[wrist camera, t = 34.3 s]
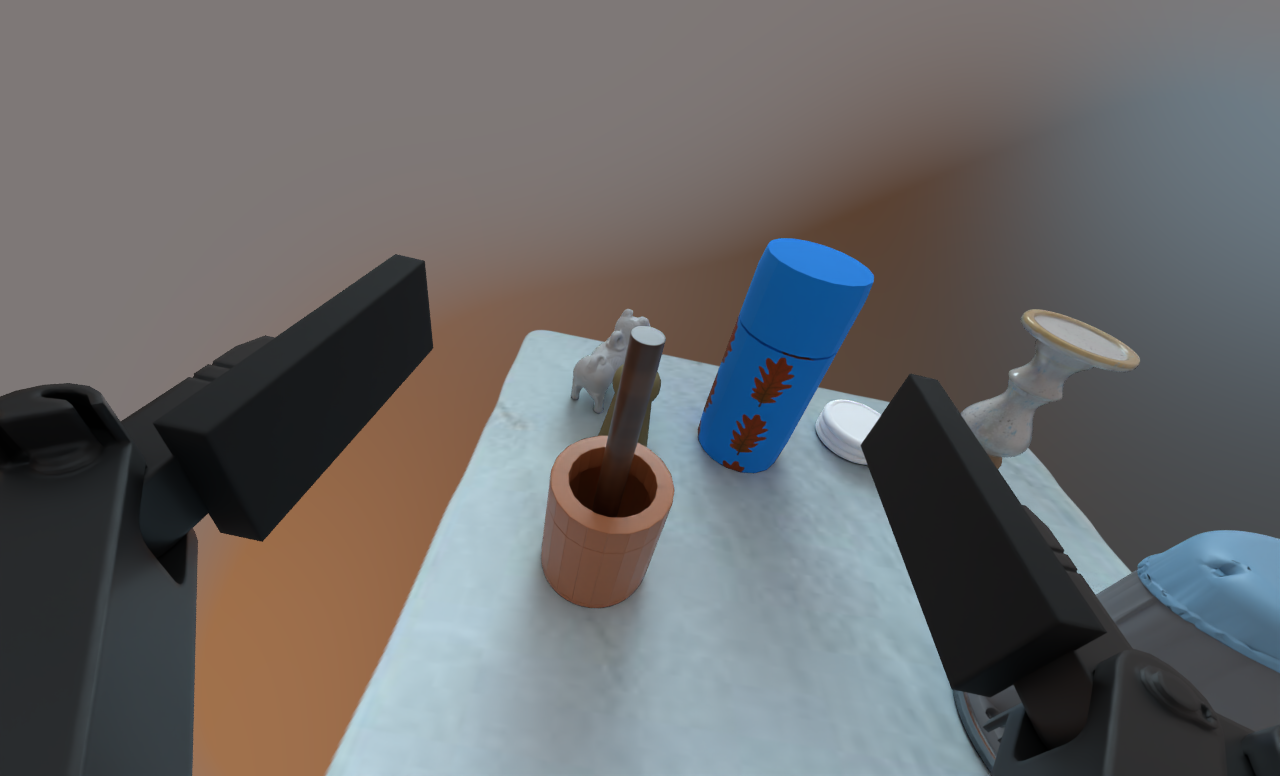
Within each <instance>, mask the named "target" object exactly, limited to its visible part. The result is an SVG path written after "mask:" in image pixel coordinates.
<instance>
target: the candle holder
mask: <svg viewBox="0 0 1280 776" xmlns="http://www.w3.org/2000/svg"><path fill="white" fill-rule="evenodd" d="M1021 323H1022V325H1023V327H1024V328H1025V329H1026V330H1027V331H1028V332H1029V333H1030V334H1031V335H1033V336H1034V337H1035V338H1037V340H1036V343H1035V347H1036V353H1035V356H1034V358H1033V359H1032V361H1031V362H1030V363H1028V364H1027V365H1024V366H1022V367H1019V368H1016V369H1013V370H1011V371H1010V372H1009V378H1010V380H1009V381H1008V388H1007V390H1006V391H1005V392H1004V393H1003V394H1001V395H999V396H997V397H994V398H991V399H988V400H984V401H981V402H978V403H975V404H973V405H971V406H969V407H967V408H966V409H964V410H963V411H962V412H961V416H962V417H963V419H964V420H965V422H966V423H967V425H968V426H969V427H970V429H971V430H972V432H973V433H974V435H975V436H976V438H977V439H978V441H979V442H980V444H981V445H982V447H983V448H984V450H985V451H986V453H987V454H988V456H989V457H990V459H991V460H992V462H993V463H994V465H995V466H996V468H997V469H999V467H1000V466H1001V463H1002V457H1015V456H1018V455H1020V454H1022V453H1023V452H1025V451H1026V450H1027V448H1028V446H1029V445H1030V443H1031V439H1032V432H1033V417H1034V413H1035V411H1036V409H1037V408H1038V407H1040V406H1041V405H1044V404H1048V403H1050V402H1051V401H1059V400H1061V398H1062V397H1063V386H1064V383H1065V381H1066V379H1067V378H1068V377H1070V376H1071V375H1073V374H1074V373H1077V372H1080V371H1085V370H1088V369H1091V368H1093V367H1098V368H1101V369H1105V370H1109V371H1115V372H1128V371H1132V370H1134V369H1136V368H1137V367H1138V366H1139V364H1140V358H1139V357H1138V355H1137V354H1136V353H1135V352H1134V351H1133V350H1132V349H1131V348H1129V347H1128V346H1127V345H1125V344H1124V343H1122V342H1120V341H1119V340H1117V339H1116V338H1114V337H1112V336H1111V335H1109V334H1107V333H1105V332H1103V331H1101V330H1099V329H1097V328H1095V327H1093V326H1090V325H1088V324H1086V323H1083V322H1081V321H1079V320H1076V319H1073V318H1070V317H1067V316H1065V315H1061V314H1058V313H1054V312H1050V311H1045V310H1038V309H1036V310H1029V311H1026V312H1025V313H1024V314H1023V315H1022V318H1021Z"/></svg>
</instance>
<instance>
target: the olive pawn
mask: <svg viewBox="0 0 1280 776" xmlns="http://www.w3.org/2000/svg"><path fill="white" fill-rule="evenodd" d="M623 365H624V364H622V365H621V366H620V367H619V368H618V369H617V370H616V372H615V374H614V377H613V389H614V392H615V394H614V397H613V399H612V402H611V404H610V407H609V409H608V412H607V415H606V417H605V420H604V422H603V425H602V427H601V430H600V432H599V435H598V436H608V434H609V429H610V425H611V420H612V416H613V411H614V406H615V402H616V397H617V393H618V388H619V384H620V379H621V374H622V370H623ZM660 387H661V380H660V377H659V374H658V372H657V373H656V377H655V381H654V384H653V388H652V391H651V395H650V399H649V402H648V406H647V410H646V413H645V417H644V420H643V424H642V428H641V431H640V435H639V439H638V442H637V443H639V444H641V445H643V446H645V447H647V439H648V430H649V421H650V412H651V403H652V401H654V399H655V398H656V397H657V395H658V394H659V391H660Z"/></svg>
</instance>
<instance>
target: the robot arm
mask: <svg viewBox="0 0 1280 776" xmlns="http://www.w3.org/2000/svg"><path fill="white" fill-rule="evenodd" d="M432 349H433V341H432V331H431V320H430V310H429V300H428V290H427V280H426V270H425V261H423V260H418V259H414V258H409V257H405V256H401V255H397V254H395V255H394V256H392V257H391V258H389V259H388V260H386V261H385V262H384V263H382V264H381V265H379V266H378V267H376V268H375V269H373V270H372V271H371V272H369V273H368V274H366V275H365V276H363V277H362V278H360V279H359V280H358V281H356V282H355V283H353V284H352V285H350V286H349V287H348V288H346V289H345V290H343V291H342V292H340V293H339V294H337V295H336V296H335V297H333V298H332V299H330V300H329V301H327V302H326V303H324V304H323V305H322V306H320V307H319V308H317V309H316V310H314V311H313V312H311V313H310V314H309V315H307V316H306V317H304V318H303V319H301V320H300V321H299V322H297V323H296V324H294V325H293V326H291V327H290V328H288V329H287V330H286V331H284V332H283V333H281V334H280V335H278V336H277V337H276V338H274V337H269V336H263V337H260V338H257V339H255V340H252V341H249V342H247V343H244V344H241V345H238V346H236V347H234V348H233V349H231V350H230V351H228V352H226V353H225V354H224V355H222V356H220V357H219V358H217V359H216V360H214V361H213V364H212V365H209V364H208V365H207V366H205V367H203V368H202V369H200V370H199V371H198V372H196V373H194V377H193V378H191V377H188V378H187V379H185V380H184V381H182V382H181V383H179V384H178V385H176V386H174V387H173V388H171V389H170V390H168V391H167V392H165V393H164V394H162V395H161V396H159V397H158V398H156V399H155V400H153V401H152V402H150V403H148V404H147V405H146V406H144V407H142V408H141V409H139V410H138V411H136V412H135V413H133V414H132V415H130V416H129V417H127V418H126V419H124V420H122V421H121V422H120V421H119V419H118V418H117V416H116V415H115V413H114V412H113V410H112V409H111V407H110V406H109V404H108V403H107V401H106V400H105V398H104V397H103V396H102V394H101V393H100V392H99V391H97V390H95V389H93V388H91V387H90V386H85V385H78V384H70V383H66V384H50V385H42V386H36V387H32V388H27V389H22V390H18V391H14V392H11V393H9V394H6V395H3V396H1V397H0V776H192V762H193V761H192V760H193V721H194V679H195V637H196V595H197V594H196V593H197V554H198V540H197V537H196V534H195V531H194V530H193V527H194V526H195V525H196V524H197V523H198V522H199V521H200V520H201V519H202V518H204V517H205V516H206V515H207V514H208V513H209V515H210V516H211V518H212V519H213V521H214V523H215V524H216V526H217V528H218V529H219V531H220V532H221V533H225V534H229V535H234V536H239V537H243V538H248V539H253V540H257V541H262V542H263V540H264V539H265V538H266V537H267V536H268V535H269V534H270V533H271V531H272V530H273V529H274V528H275V527H276V525H278V523H279V522H280V521H281V520H282V519H283V518H284V517H285V516H286V514H287V513H288V512H289V511H290V510H291V509H292V508H293V506H294V505H295V504H296V503H297V502H298V501H299V500H300V499H301V497H302V496H303V495H304V494H305V493H306V492H307V491H308V490H309V488H310V487H311V486H312V485H313V484H314V483H315V482H316V480H317V479H318V478H319V477H320V476H321V474H323V472H324V471H325V470H326V469H327V468H328V467H329V466H330V465H331V463H332V462H333V461H334V460H335V459H336V458H337V457H338V456H339V454H340V453H341V452H342V451H343V450H344V449H345V448H346V446H347V445H348V444H349V443H350V442H351V441H352V440H353V438H354V437H355V436H356V435H357V434H358V433H359V432H360V431H361V429H362V428H363V427H364V426H365V425H366V424H367V423H368V422H369V420H370V419H371V418H372V417H373V416H374V415H375V414H376V412H377V411H378V410H379V409H380V408H381V407H382V406H383V405H384V403H385V402H386V401H387V400H388V399H389V398H390V397H391V396H392V394H393V393H394V392H395V391H396V390H397V389H398V388H399V386H400V385H401V384H402V383H403V382H404V381H405V380H406V378H407V377H408V376H409V375H410V374H411V373H412V372H413V371H414V369H415V368H416V367H417V366H418V365H419V364H420V363H421V362H422V360H423V359H424V358H425V357H426V356H427V355H428V354H429V352H430V351H431V350H432ZM860 446H861V448H862V451H863V454H864V456H865V459H866V462H867V464H868V467H869V470H870V472H871V475H872V478H873V480H874V483H875V486H876V488H877V491H878V494H879V496H880V499H881V502H882V504H883V507H884V510H885V512H886V515H887V518H888V520H889V523H890V526H891V528H892V531H893V534H894V536H895V539H896V542H897V544H898V547H899V550H900V552H901V555H902V558H903V560H904V563H905V566H906V568H907V571H908V574H909V576H910V579H911V582H912V584H913V587H914V590H915V592H916V595H917V598H918V600H919V603H920V606H921V608H922V611H923V614H924V616H925V619H926V622H927V624H928V627H929V630H930V632H931V635H932V638H933V640H934V643H935V646H936V648H937V651H938V654H939V656H940V659H941V662H942V664H943V667H944V670H945V672H946V675H947V678H948V680H949V683H950V686H951V688H952V689H953V692H954V698H955V702H956V706H957V709H958V712H959V715H960V717H961V720H962V722H963V725H964V727H965V729H966V731H967V733H968V735H969V738H970V739H971V741H972V743H973V745H974V747H975V749H976V750H977V752H978V753H979V755H980V757H981V758H982V760H983V762H984V763H985V764H986V766H987V767H988V769H989V770H990V772H991V776H1280V539H1277V538H1273V537H1270V536H1266V535H1261V534H1256V533H1250V532H1244V531H1231V530H1221V531H1210V532H1205V533H1201V534H1198V535H1195V536H1193V537H1191V538H1189V539H1187V540H1185V541H1183V542H1182V543H1180V544H1178V545H1176V546H1174V547H1172V548H1171V549H1169V550H1167V551H1165V552H1163V553H1161V554H1156V555H1152V556H1149V557H1147V558H1146V559H1144V560H1143V561H1141V562H1140V563H1139V564H1138V570H1136V571H1134V572H1133V573H1131V574H1129V575H1128V576H1126V577H1124V578H1123V579H1121V580H1120V581H1118V582H1116V583H1115V584H1113V585H1111V586H1110V587H1108V588H1106V589H1105V590H1103V591H1101V592H1100V593H1098V594H1096V595H1095V594H1094V592H1093V591H1092V589H1091V588H1090V587H1089V585H1088V584H1087V582H1086V581H1085V579H1084V578H1083V576H1082V575H1081V574H1078V573H1077V568H1076V566H1075V565H1074V564H1073V562H1072V561H1071V559H1070V558H1069V556H1068V555H1066V554H1064V553H1063V552H1064V549H1063V548H1062V546H1061V545H1060V543H1059V542H1058V541H1057V539H1056V538H1055V536H1054V535H1053V533H1052V532H1051V531H1050V529H1049V528H1048V527H1047V526H1046V525H1045V524H1044V523H1043V522H1042V521H1041V520H1040V519H1039V518H1038V517H1037V516H1036V515H1035V514H1034V513H1033V512H1032V511H1031V510H1030V509H1029V508H1028V507H1026V506H1024V505H1021V503H1020V502H1019V500H1018V499H1017V497H1016V496H1015V494H1014V493H1013V491H1012V490H1011V488H1010V487H1009V485H1008V484H1007V483H1006V481H1005V480H1004V478H1003V477H1002V475H1001V474H1000V472H999V471H998V469H997V468H996V466H995V465H994V463H993V462H992V460H991V459H990V457H989V456H988V454H987V453H986V451H985V450H984V448H983V447H982V445H981V444H980V442H979V441H978V439H977V438H976V436H975V435H974V433H973V432H972V430H971V429H970V427H969V426H968V425H967V423H966V422H965V420H964V419H963V417H962V416H961V414H960V413H959V411H958V410H957V408H956V407H955V405H954V404H953V402H952V401H951V399H950V398H949V397H948V395H947V393H946V392H945V390H944V389H943V387H942V386H941V385H940V383H939V382H938V380H935V379H931V378H927V377H923V376H918V375H914V374H909V376H908V377H907V379H906V380H905V382H904V383H903V384H902V386H901V387H900V389H899V390H898V392H897V393H896V395H895V396H894V397H893V399H892V400H891V402H890V403H889V405H888V406H887V408H886V409H885V410H884V412H883V413H882V415H881V416H880V418H879V419H878V421H877V422H876V423H875V425H874V426H873V428H872V429H871V431H870V432H869V434H868V435H867V436H866V438H865V439H864V441H863V442H862V444H861V445H860Z"/></svg>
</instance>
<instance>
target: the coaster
mask: <svg viewBox="0 0 1280 776" xmlns="http://www.w3.org/2000/svg"><path fill="white" fill-rule="evenodd" d="M880 416H881V415H880V414H879V413H878V412H876V411H875V410H873V409H872V408H870V407H868V406H866V405H863V404H861V403H858V402H855V401H851V400H834V401H831V402H829V403H828V404H826V405H825V407H824V408H823V411H822V412H821V413H820V416H819V417H818V418H817V420H816V426H815V427H816V432H817V434H818V436H819V438H820V439H821V441H822V442H823V443H824V444H825V445H826V446H827V447H828V448H829V449H830V450H831V451H832V452H834V453H835V454H837V455H838V456H840V457H842V458H844V459H846V460H848V461H851V462H854V463H858V464H863V465H868V464H867V462H866V459H865V456H864V454H863V451H862V448H861V446H860V445H861V444H862V442H863V441H864V439H865V438H866V436H867V435H868V434H869V432H870V431H871V429H872V428H873V426H874V425H875V423H876V422H877V421H878V419H879V418H880Z"/></svg>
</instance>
